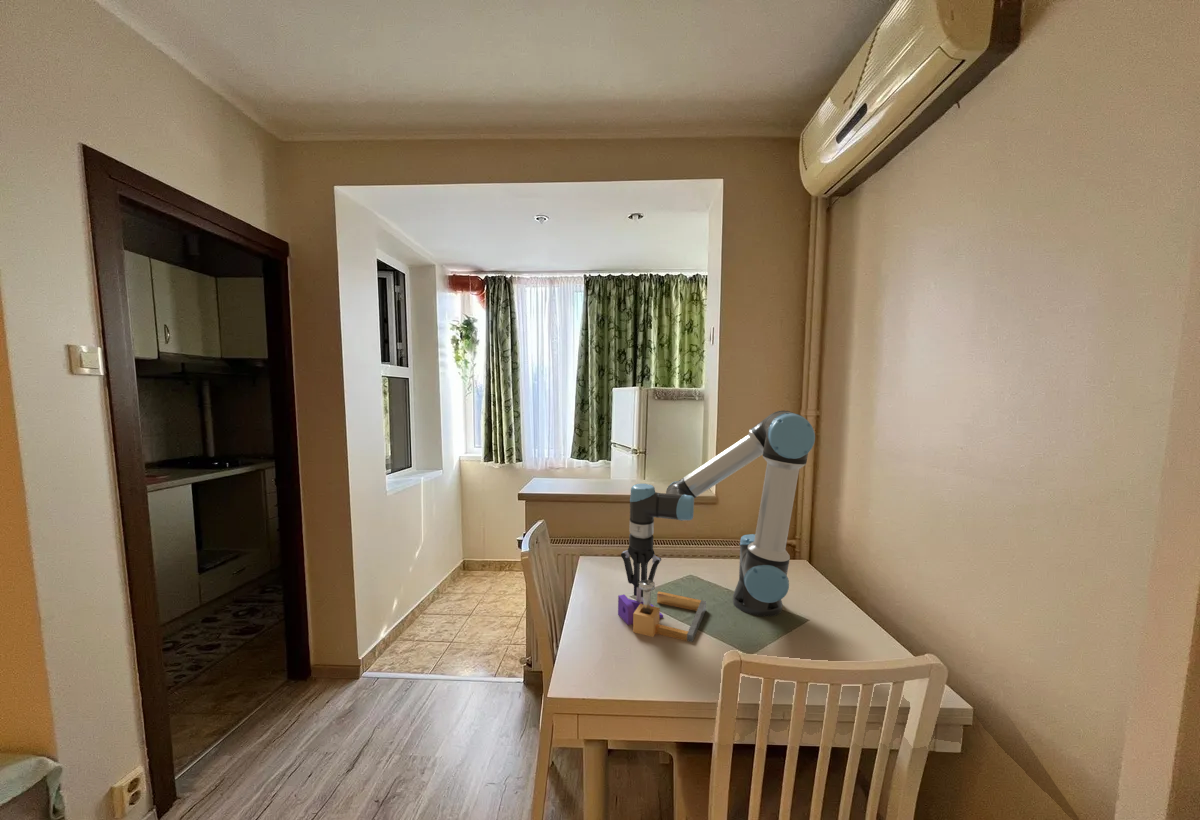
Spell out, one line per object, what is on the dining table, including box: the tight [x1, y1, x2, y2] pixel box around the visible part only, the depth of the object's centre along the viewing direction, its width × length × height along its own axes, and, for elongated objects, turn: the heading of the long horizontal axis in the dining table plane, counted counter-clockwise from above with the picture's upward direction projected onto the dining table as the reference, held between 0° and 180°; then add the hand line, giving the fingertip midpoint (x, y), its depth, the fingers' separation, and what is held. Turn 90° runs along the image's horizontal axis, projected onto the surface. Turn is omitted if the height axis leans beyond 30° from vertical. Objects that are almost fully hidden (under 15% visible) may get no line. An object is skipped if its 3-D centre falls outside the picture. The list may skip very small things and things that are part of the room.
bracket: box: [617, 594, 664, 626], centre depth 134 cm, size 12×7×7 cm, turn 113°
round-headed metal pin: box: [639, 579, 656, 615], centre depth 126 cm, size 4×4×9 cm
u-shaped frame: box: [655, 591, 707, 643], centre depth 132 cm, size 16×20×4 cm
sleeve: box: [632, 604, 661, 638], centre depth 126 cm, size 6×6×7 cm
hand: (639, 605), depth 139 cm, fingers closed
